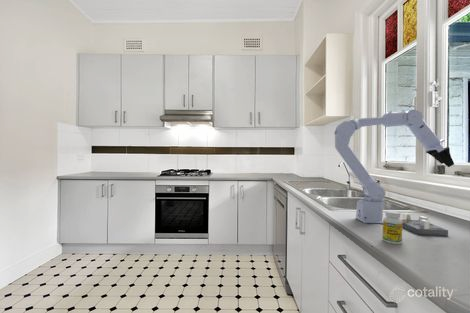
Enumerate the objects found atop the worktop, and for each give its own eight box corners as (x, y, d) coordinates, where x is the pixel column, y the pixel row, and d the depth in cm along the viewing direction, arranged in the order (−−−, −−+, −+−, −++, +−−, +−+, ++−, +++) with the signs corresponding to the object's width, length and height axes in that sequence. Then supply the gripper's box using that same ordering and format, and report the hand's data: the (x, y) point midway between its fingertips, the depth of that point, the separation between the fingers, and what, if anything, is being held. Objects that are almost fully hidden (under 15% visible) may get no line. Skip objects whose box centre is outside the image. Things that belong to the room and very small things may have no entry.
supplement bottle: (398, 240, 84) (400, 211, 84) (404, 245, 79) (405, 214, 78) (380, 237, 85) (381, 209, 85) (384, 243, 80) (385, 213, 80)
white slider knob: (423, 224, 95) (423, 217, 95) (418, 222, 97) (419, 216, 97) (427, 224, 95) (427, 218, 95) (423, 222, 97) (423, 216, 97)
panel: (417, 234, 90) (417, 221, 90) (395, 224, 103) (396, 212, 103) (447, 236, 89) (448, 222, 89) (422, 225, 102) (422, 213, 102)
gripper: (442, 130, 94) (466, 161, 92) (430, 129, 107) (451, 155, 105) (422, 141, 96) (445, 171, 95) (413, 138, 110) (433, 165, 108)
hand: (447, 164), depth 100 cm, fingers open, 7 cm apart
